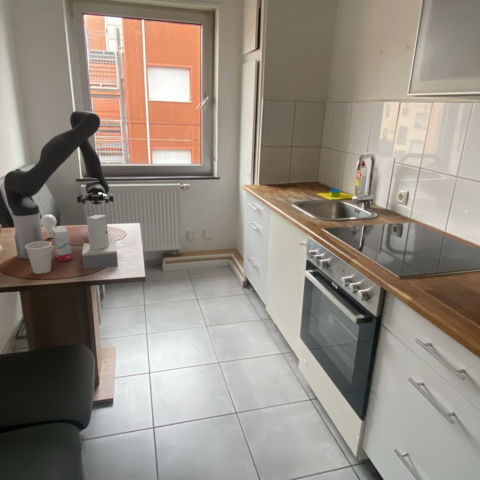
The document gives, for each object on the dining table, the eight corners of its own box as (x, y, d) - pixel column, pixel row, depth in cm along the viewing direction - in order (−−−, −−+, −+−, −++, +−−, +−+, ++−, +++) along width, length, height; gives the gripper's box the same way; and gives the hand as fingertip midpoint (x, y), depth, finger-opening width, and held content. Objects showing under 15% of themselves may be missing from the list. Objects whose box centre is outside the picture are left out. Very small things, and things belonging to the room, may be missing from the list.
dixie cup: (35, 266, 140) (31, 240, 137) (58, 266, 141) (55, 240, 138) (24, 275, 132) (20, 248, 129) (49, 275, 133) (45, 248, 130)
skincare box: (98, 250, 141) (95, 218, 137) (89, 248, 143) (85, 217, 139) (109, 245, 147) (107, 215, 143) (100, 243, 148) (97, 213, 144)
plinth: (83, 269, 139) (81, 253, 137) (85, 257, 150) (83, 243, 148) (117, 266, 143) (116, 251, 141) (117, 255, 154) (115, 241, 152)
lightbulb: (39, 239, 170) (36, 215, 167) (50, 235, 176) (47, 212, 172) (51, 240, 168) (47, 216, 165) (61, 236, 174) (58, 213, 171)
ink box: (72, 260, 147) (69, 231, 144) (58, 262, 145) (54, 233, 141) (68, 253, 154) (65, 225, 150) (54, 255, 151) (51, 227, 148)
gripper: (78, 186, 165) (75, 192, 151) (112, 185, 170) (113, 191, 155) (79, 203, 167) (76, 211, 153) (113, 202, 172) (114, 209, 157)
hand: (95, 201), depth 154 cm, fingers open, 8 cm apart
